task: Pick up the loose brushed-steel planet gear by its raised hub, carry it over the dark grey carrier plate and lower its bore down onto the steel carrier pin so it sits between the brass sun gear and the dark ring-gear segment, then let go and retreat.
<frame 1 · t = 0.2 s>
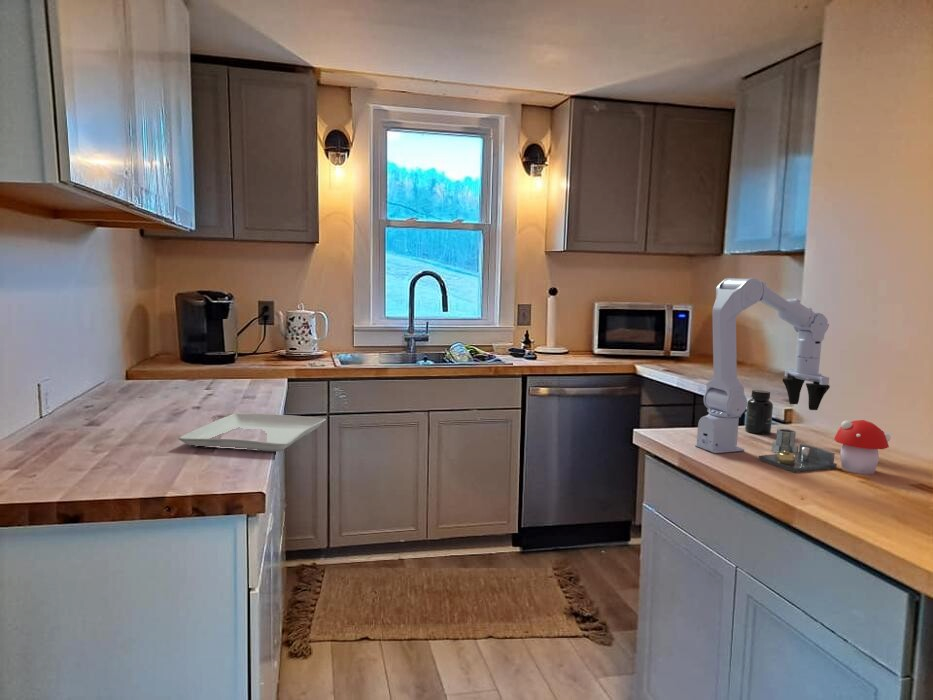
hand: (803, 406, 170), 10 cm above the counter, tool pointing down, fingers open, 7 cm apart
mushroom: (858, 471, 147), on the counter
square plate: (257, 441, 161), on the counter
supplement bottle: (757, 432, 183), on the counter
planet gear: (784, 451, 162), on the counter
carrier: (804, 464, 151), on the counter
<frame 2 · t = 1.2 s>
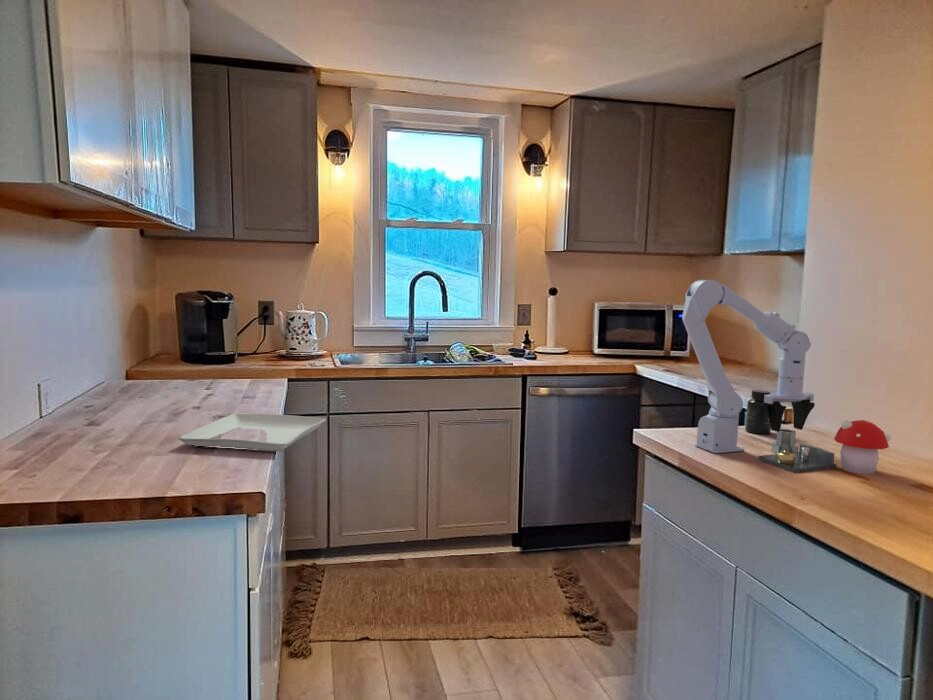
hand: (786, 429, 161), 6 cm above the counter, tool pointing down, fingers open, 7 cm apart
nothing on the counter moved.
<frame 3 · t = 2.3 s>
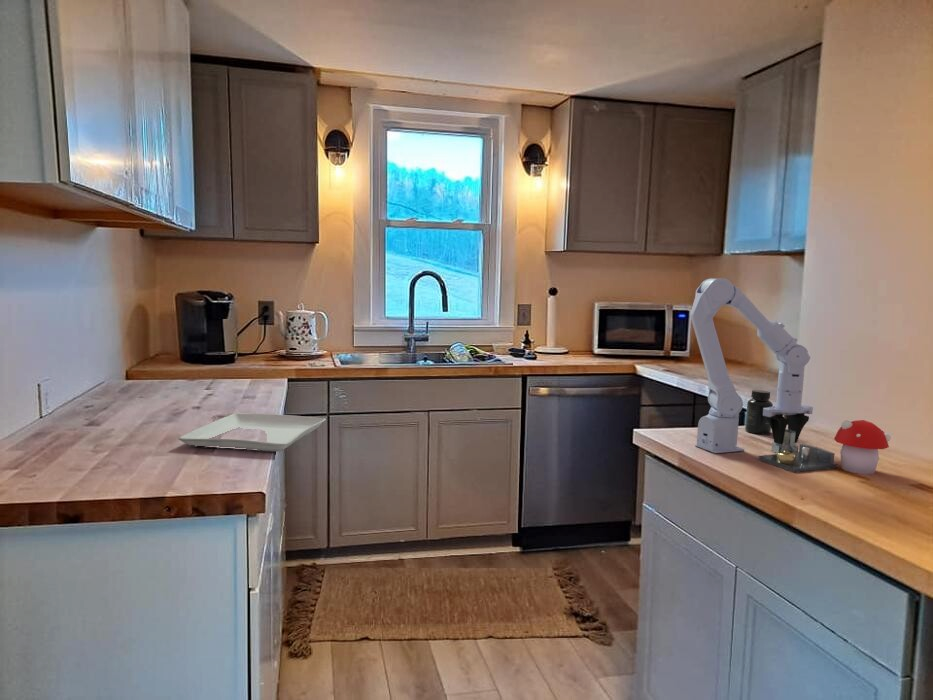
hand: (785, 442, 161), 2 cm above the counter, tool pointing down, fingers closed on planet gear, 4 cm apart
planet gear: (784, 451, 162), on the counter, touching gripper
everything else where it was.
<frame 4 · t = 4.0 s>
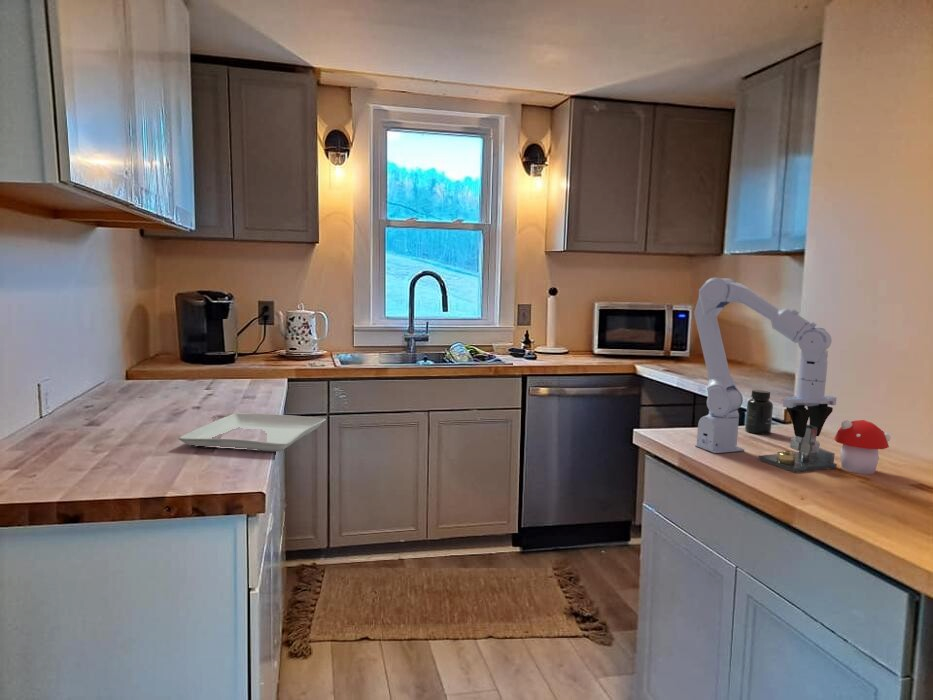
hand: (806, 435, 150), 7 cm above the counter, tool pointing down, fingers closed on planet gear, 4 cm apart
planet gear: (804, 448, 151), point 4 cm above the counter, touching gripper
everything else where it was.
when the fingers open (4 cm above the counter, at t = 5.0 s): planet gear stays where it is, resting on carrier.
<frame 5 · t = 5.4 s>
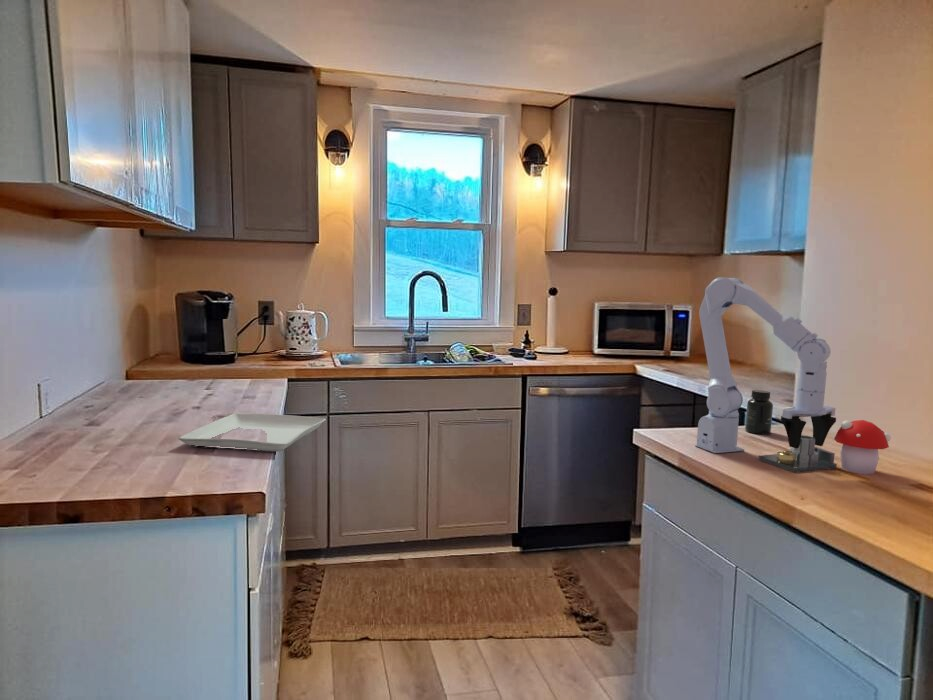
hand: (805, 446, 150), 4 cm above the counter, tool pointing down, fingers open, 7 cm apart
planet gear: (803, 459, 151), point 1 cm above the counter, touching carrier
everything else where it was.
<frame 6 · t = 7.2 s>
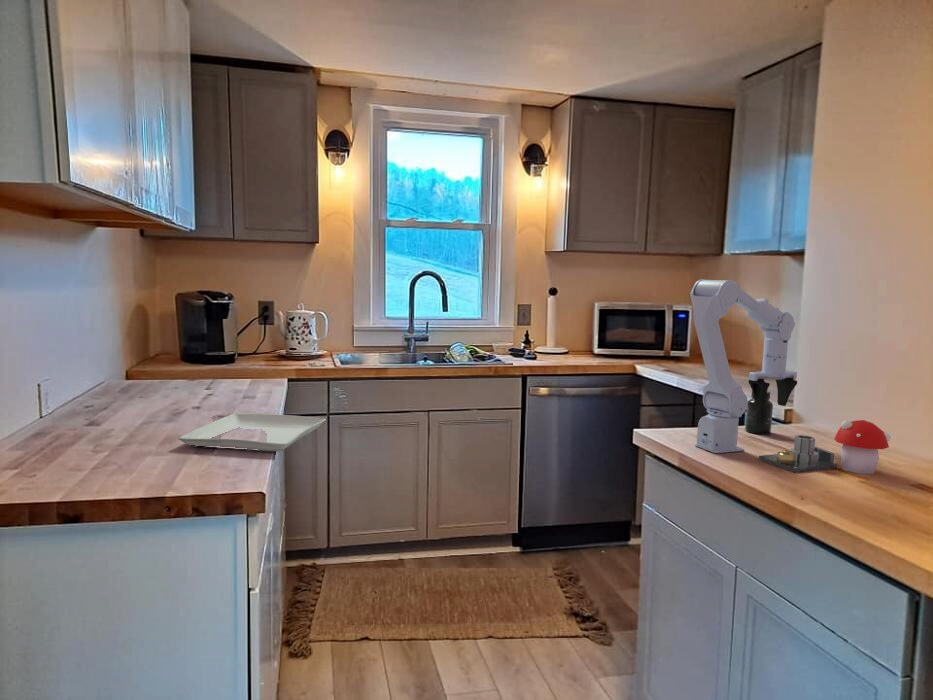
hand: (770, 406, 170), 10 cm above the counter, tool pointing down, fingers open, 7 cm apart
nothing on the counter moved.
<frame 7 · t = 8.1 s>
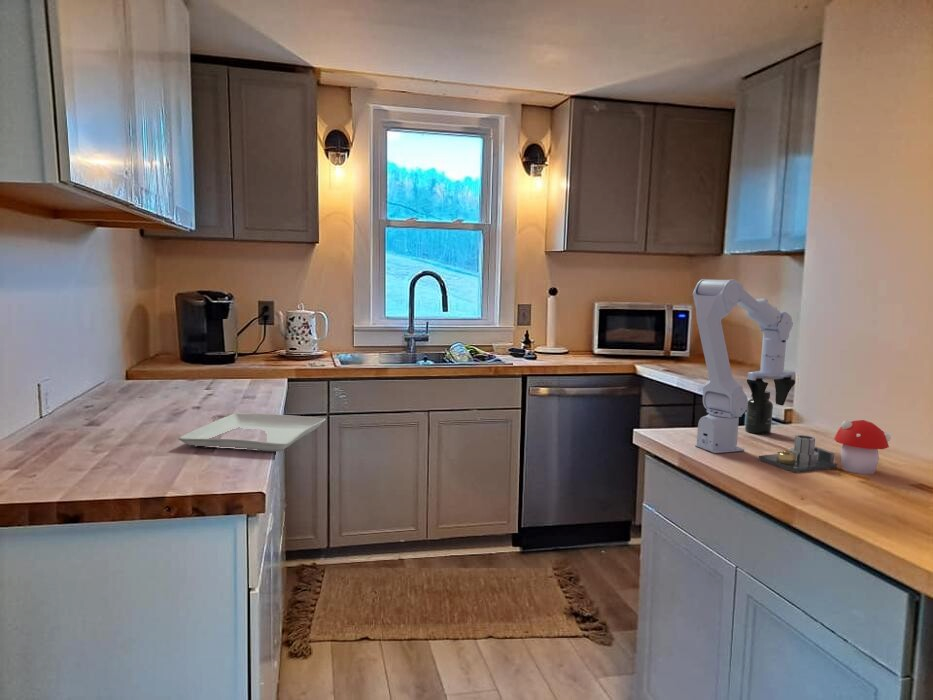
hand: (768, 405, 171), 10 cm above the counter, tool pointing down, fingers open, 7 cm apart
nothing on the counter moved.
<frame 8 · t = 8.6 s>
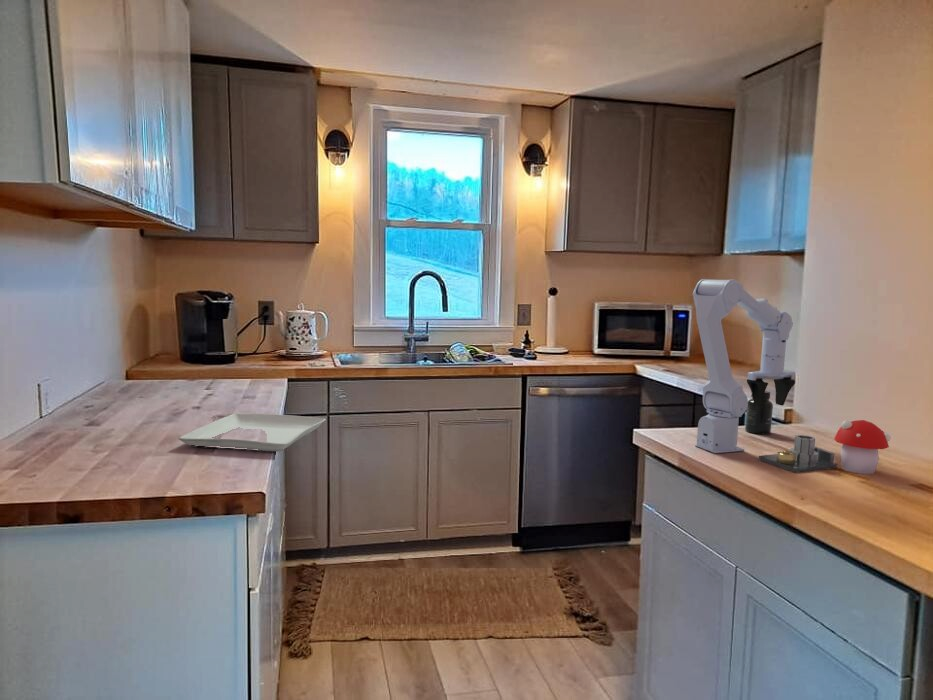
hand: (768, 405, 171), 10 cm above the counter, tool pointing down, fingers open, 7 cm apart
nothing on the counter moved.
at the end: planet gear 0.5 cm off-centre on the carrier, point 1.0 cm above the carrier's base; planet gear tilted 0°; the gripper is holding nothing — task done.
